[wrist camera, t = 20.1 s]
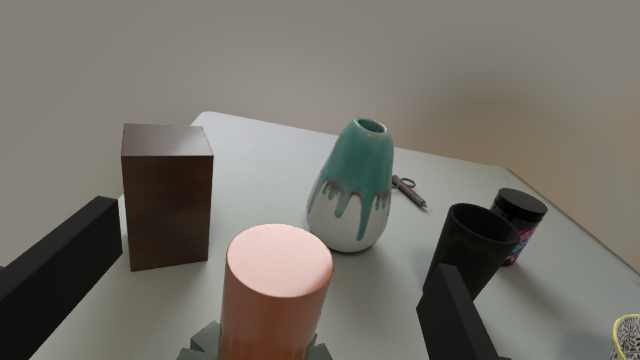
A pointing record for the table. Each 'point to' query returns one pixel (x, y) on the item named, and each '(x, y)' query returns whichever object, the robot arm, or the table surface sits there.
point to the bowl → (626, 338)
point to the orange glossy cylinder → (272, 293)
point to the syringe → (408, 189)
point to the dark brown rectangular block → (166, 194)
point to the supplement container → (519, 216)
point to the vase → (353, 188)
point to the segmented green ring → (206, 346)
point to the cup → (474, 245)
